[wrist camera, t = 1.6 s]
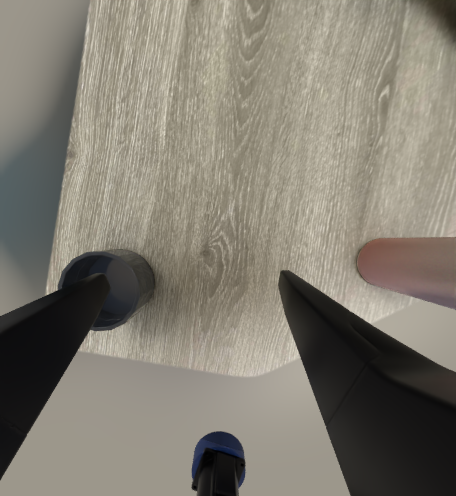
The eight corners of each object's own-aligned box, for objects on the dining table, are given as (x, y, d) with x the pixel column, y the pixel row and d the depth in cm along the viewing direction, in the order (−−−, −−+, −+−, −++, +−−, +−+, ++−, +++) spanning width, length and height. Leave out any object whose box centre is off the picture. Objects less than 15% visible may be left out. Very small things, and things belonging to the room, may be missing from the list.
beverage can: (401, 238, 22) (750, 234, 8) (398, 284, 23) (731, 370, 8) (354, 238, 22) (612, 233, 7) (352, 284, 23) (599, 370, 8)
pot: (143, 323, 23) (125, 341, 19) (80, 302, 22) (48, 316, 18) (163, 261, 22) (149, 266, 18) (99, 240, 22) (71, 240, 18)
